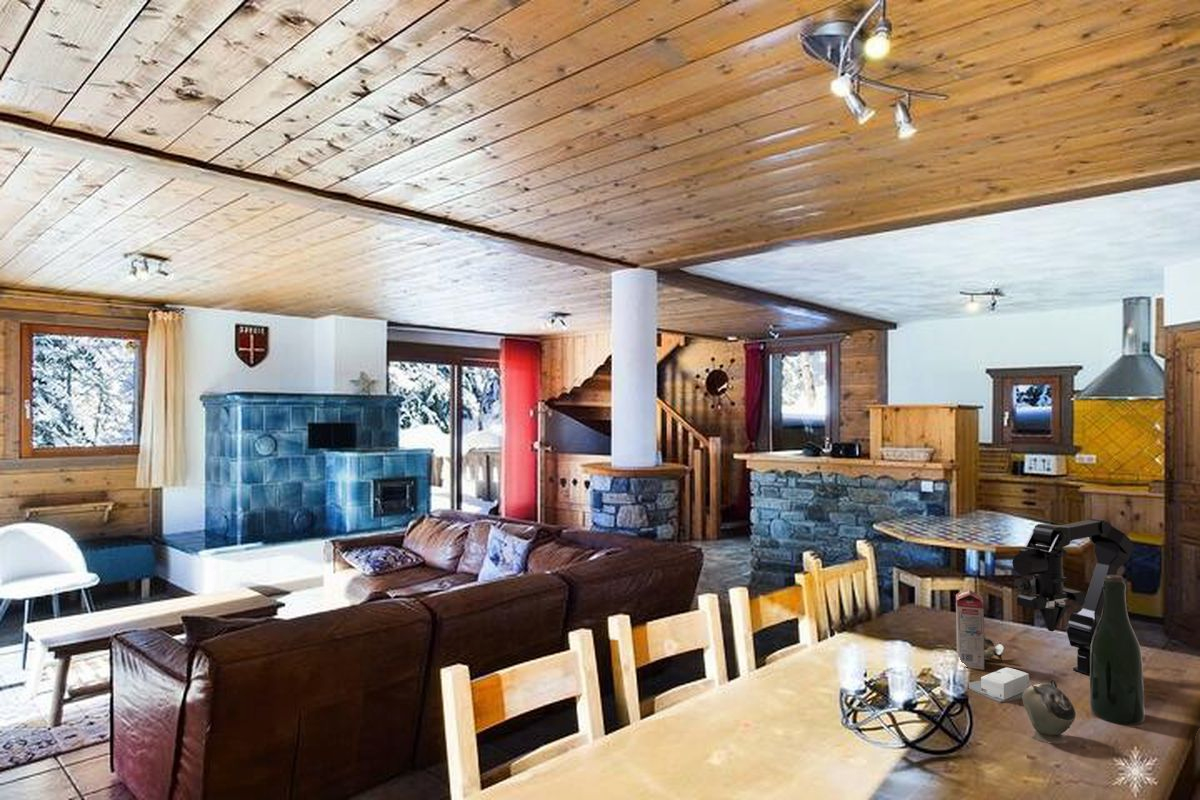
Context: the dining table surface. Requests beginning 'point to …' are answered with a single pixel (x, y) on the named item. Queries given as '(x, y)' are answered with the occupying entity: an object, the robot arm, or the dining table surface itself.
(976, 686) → the mat
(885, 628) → the dining table surface
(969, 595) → the juice carton
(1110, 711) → the beer bottle
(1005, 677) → the skincare box
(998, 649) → the eagle figurine
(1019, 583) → the robot arm
